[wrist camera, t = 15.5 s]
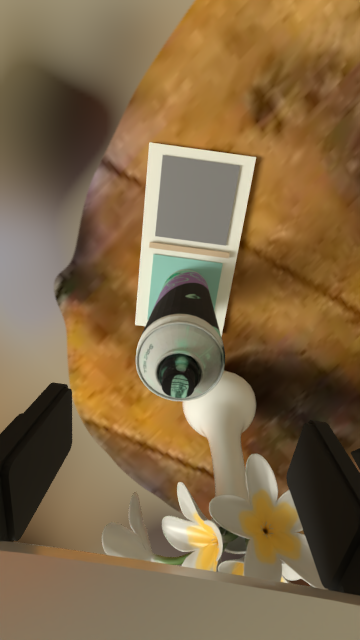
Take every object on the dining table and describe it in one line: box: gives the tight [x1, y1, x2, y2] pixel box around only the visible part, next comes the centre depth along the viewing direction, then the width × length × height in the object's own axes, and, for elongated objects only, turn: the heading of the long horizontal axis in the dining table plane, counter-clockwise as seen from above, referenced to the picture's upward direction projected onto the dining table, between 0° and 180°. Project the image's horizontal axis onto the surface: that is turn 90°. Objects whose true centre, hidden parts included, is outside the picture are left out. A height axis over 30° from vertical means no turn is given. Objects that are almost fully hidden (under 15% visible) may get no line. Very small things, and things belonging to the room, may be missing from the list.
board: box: [135, 142, 256, 336], centre depth 32 cm, size 11×20×2 cm, turn 173°
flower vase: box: [102, 371, 328, 590], centre depth 27 cm, size 13×18×25 cm
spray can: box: [136, 269, 225, 401], centre depth 23 cm, size 6×6×20 cm
